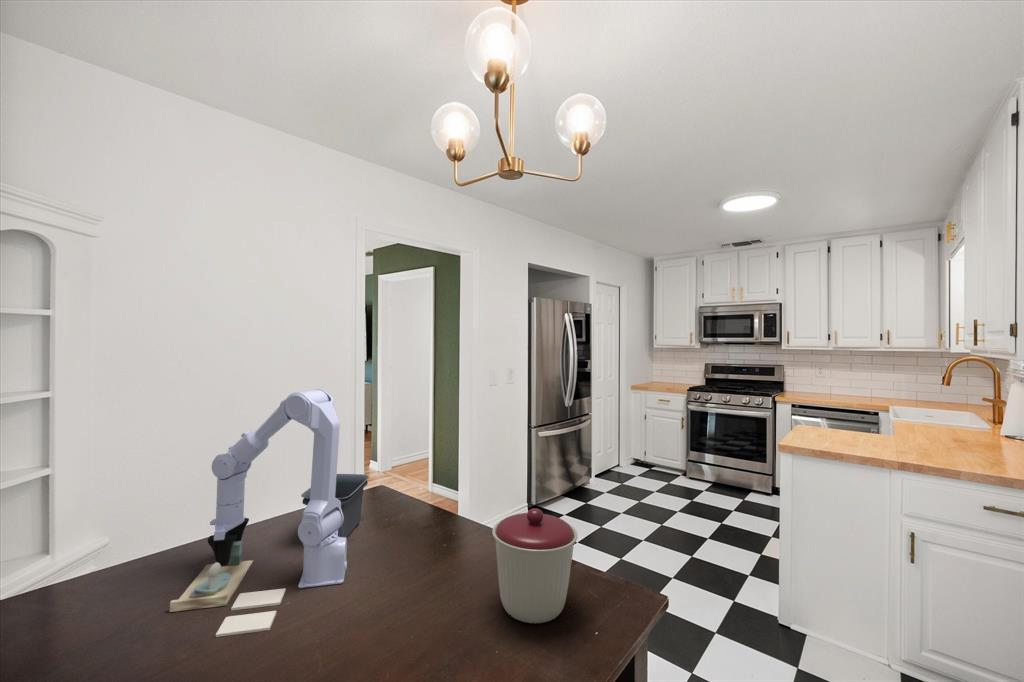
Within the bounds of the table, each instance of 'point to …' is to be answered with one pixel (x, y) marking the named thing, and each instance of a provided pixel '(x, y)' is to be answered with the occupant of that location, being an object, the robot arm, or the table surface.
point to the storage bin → (347, 499)
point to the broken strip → (251, 621)
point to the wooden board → (223, 596)
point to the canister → (534, 564)
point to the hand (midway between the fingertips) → (228, 557)
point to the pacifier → (212, 582)
